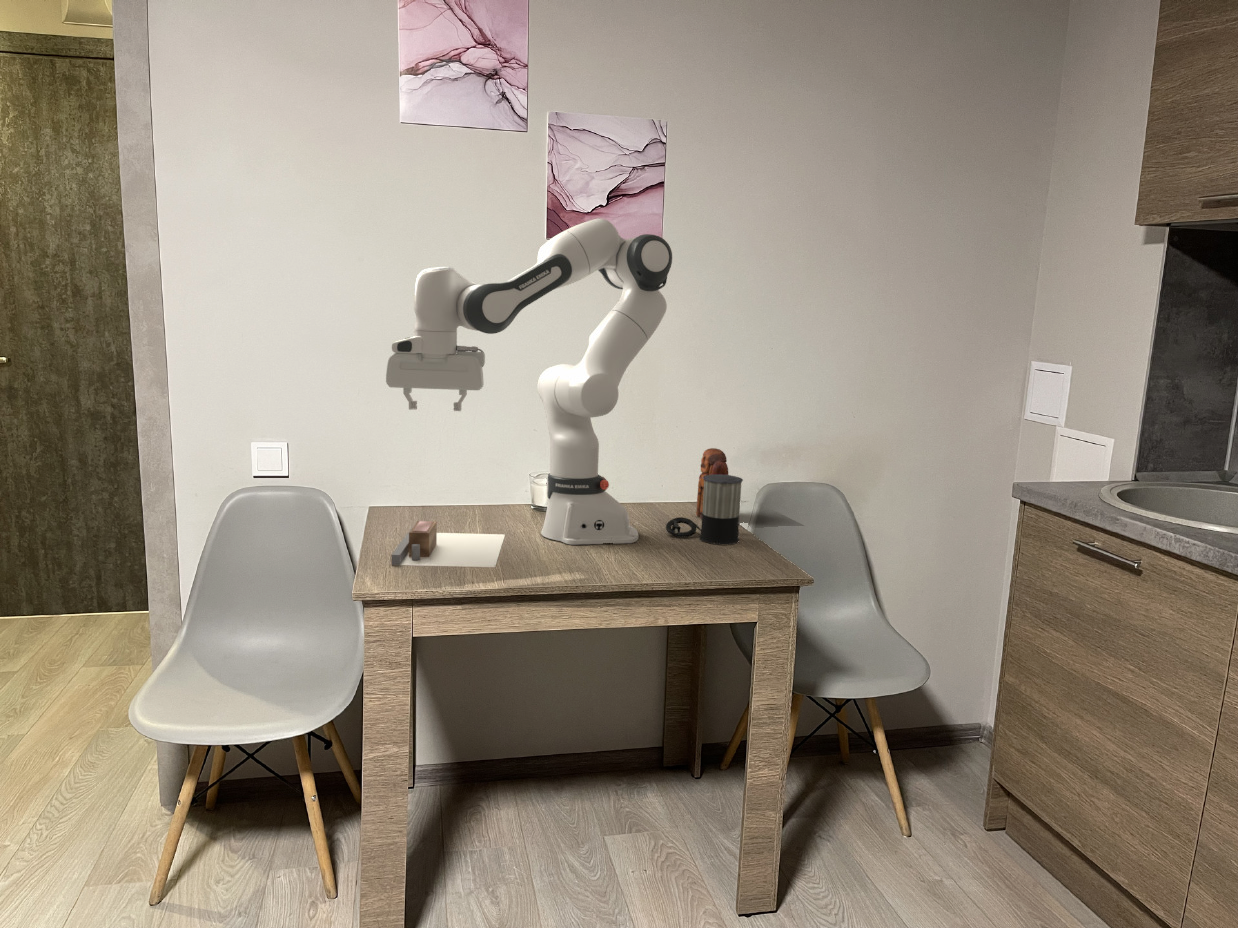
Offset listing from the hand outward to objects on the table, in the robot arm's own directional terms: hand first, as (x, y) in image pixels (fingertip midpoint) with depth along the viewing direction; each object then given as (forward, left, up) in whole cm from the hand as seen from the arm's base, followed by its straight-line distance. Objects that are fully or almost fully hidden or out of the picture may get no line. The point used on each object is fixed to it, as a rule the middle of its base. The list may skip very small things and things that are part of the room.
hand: (435, 410), depth 192 cm
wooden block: (+1, +11, -28) cm, 30 cm away
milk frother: (-61, -10, -29) cm, 68 cm away
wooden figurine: (-66, -31, -29) cm, 78 cm away
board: (-5, +9, -29) cm, 31 cm away
